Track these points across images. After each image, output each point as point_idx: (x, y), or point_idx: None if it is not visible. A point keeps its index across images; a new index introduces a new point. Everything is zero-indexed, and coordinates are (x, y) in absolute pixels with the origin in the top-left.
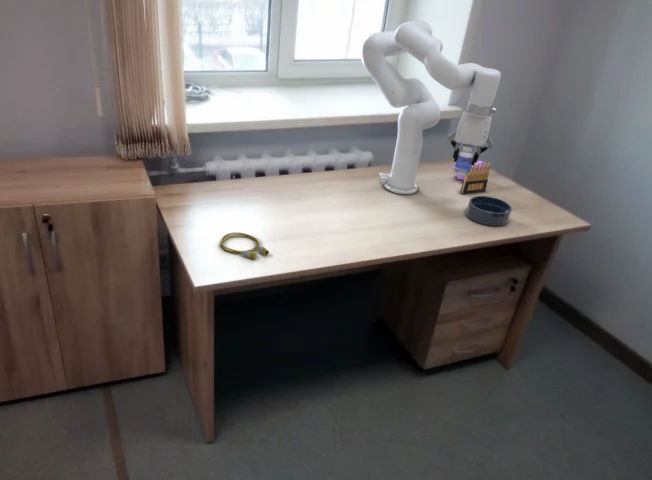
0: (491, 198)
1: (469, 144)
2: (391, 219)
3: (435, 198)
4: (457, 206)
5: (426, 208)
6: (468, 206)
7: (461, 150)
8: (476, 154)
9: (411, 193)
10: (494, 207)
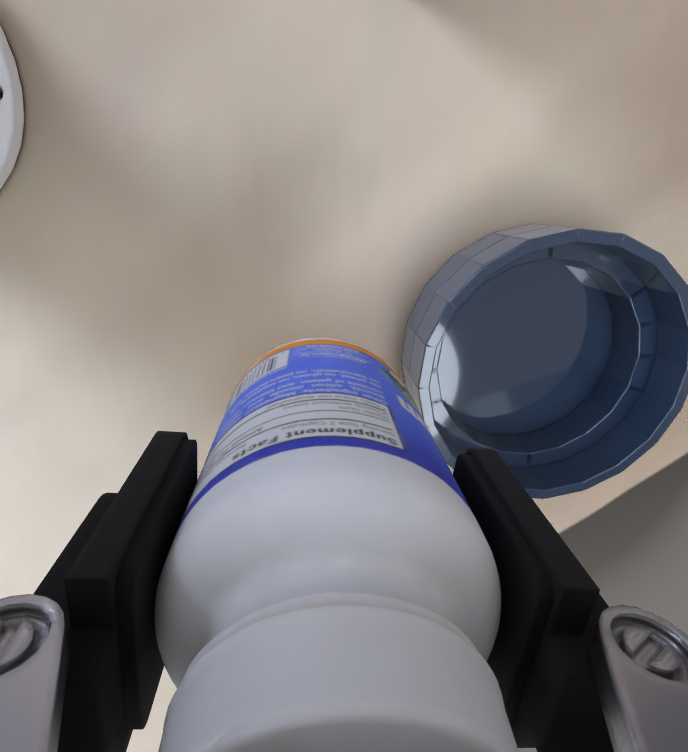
0: (592, 243)
1: (379, 725)
2: (30, 577)
3: (192, 182)
4: (351, 260)
5: (166, 377)
6: (412, 388)
7: (197, 644)
8: (532, 744)
9: (3, 184)
10: (590, 267)
